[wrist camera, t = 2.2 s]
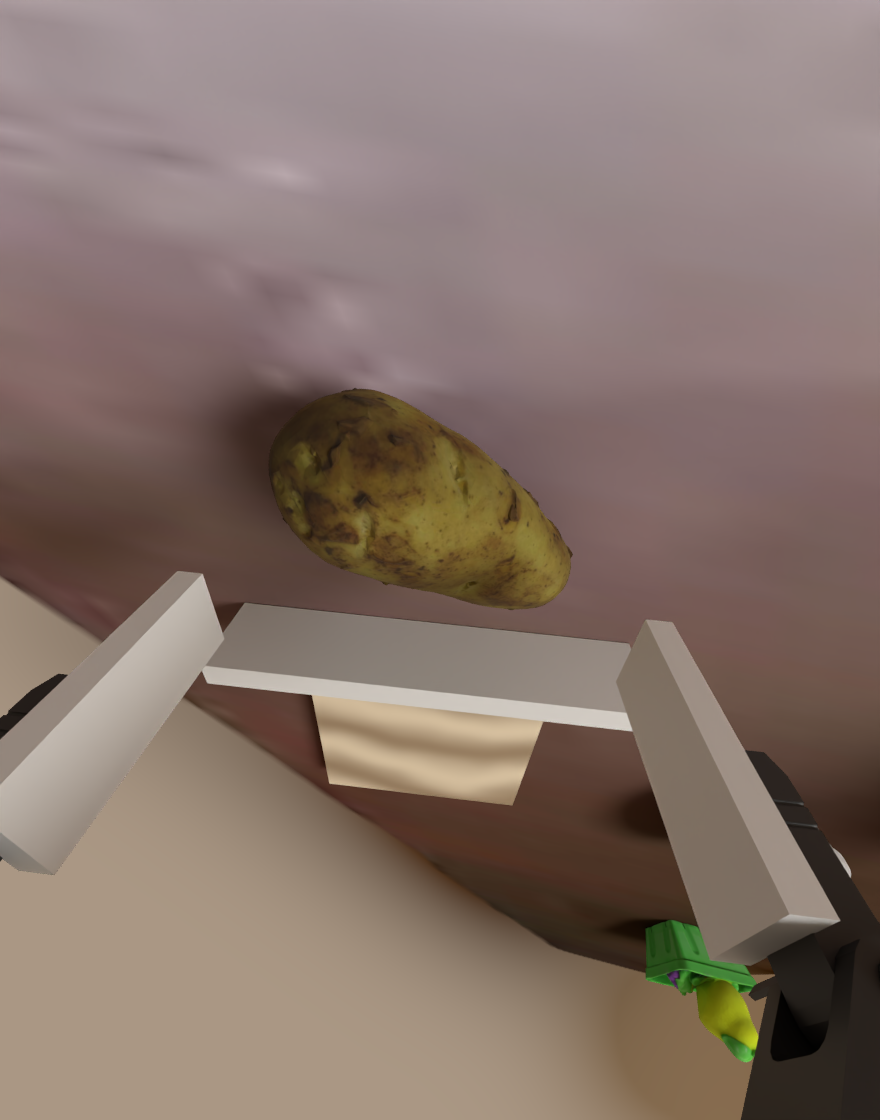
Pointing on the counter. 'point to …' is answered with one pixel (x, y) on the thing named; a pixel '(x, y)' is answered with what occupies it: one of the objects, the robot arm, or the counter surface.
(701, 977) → the fruit basket
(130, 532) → the counter surface
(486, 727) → the cutting board
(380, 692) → the divider wall
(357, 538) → the potato
